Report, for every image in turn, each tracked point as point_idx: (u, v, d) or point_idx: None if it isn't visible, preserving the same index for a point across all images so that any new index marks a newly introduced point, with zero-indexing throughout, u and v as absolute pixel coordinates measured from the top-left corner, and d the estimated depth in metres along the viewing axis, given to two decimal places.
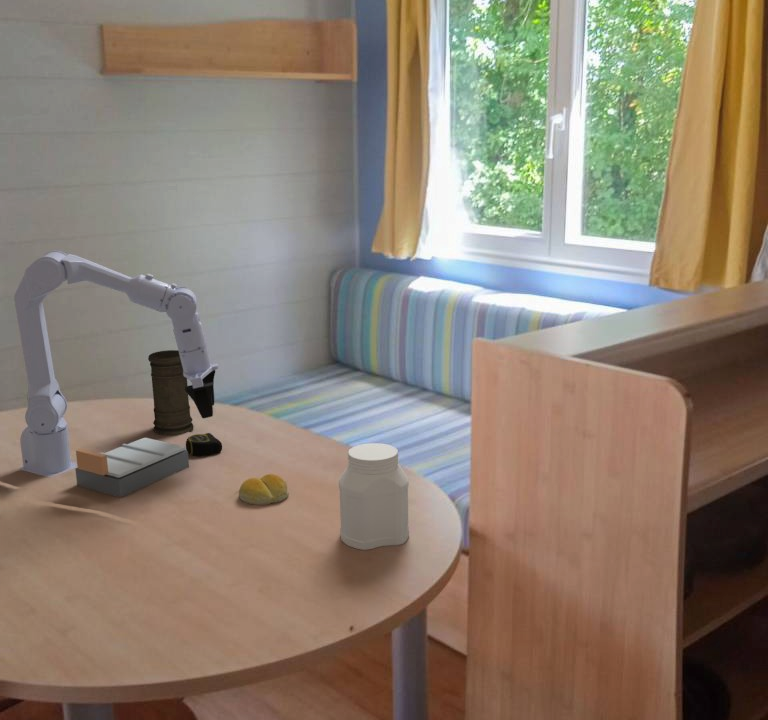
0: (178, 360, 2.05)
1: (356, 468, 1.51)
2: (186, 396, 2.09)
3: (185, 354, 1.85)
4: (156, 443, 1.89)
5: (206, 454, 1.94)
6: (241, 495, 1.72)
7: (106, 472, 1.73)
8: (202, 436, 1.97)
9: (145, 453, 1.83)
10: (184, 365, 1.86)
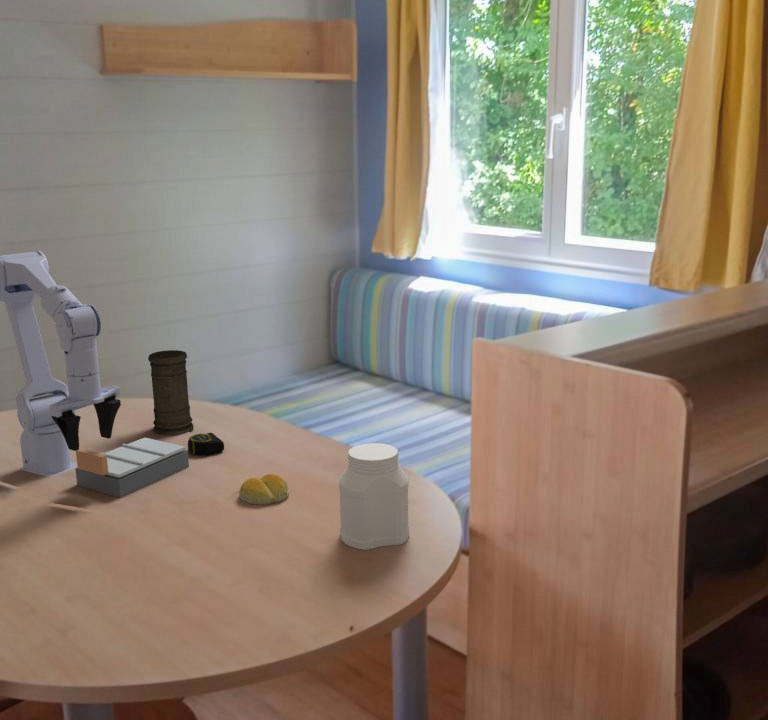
0: (178, 360, 2.05)
1: (356, 468, 1.51)
2: (186, 396, 2.09)
3: (67, 377, 1.69)
4: (156, 443, 1.89)
5: (208, 453, 1.94)
6: (241, 495, 1.72)
7: (106, 472, 1.73)
8: (204, 436, 1.98)
9: (145, 453, 1.83)
10: None
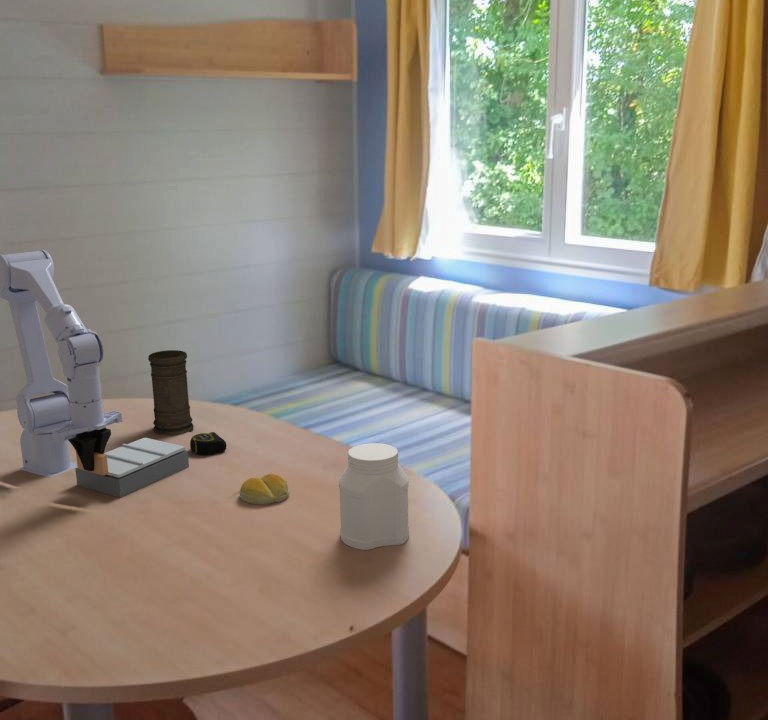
0: (178, 360, 2.05)
1: (356, 468, 1.51)
2: (186, 396, 2.09)
3: (69, 403, 1.70)
4: (156, 443, 1.89)
5: (210, 453, 1.95)
6: (242, 495, 1.72)
7: (106, 472, 1.73)
8: (206, 435, 1.98)
9: (145, 453, 1.83)
10: None
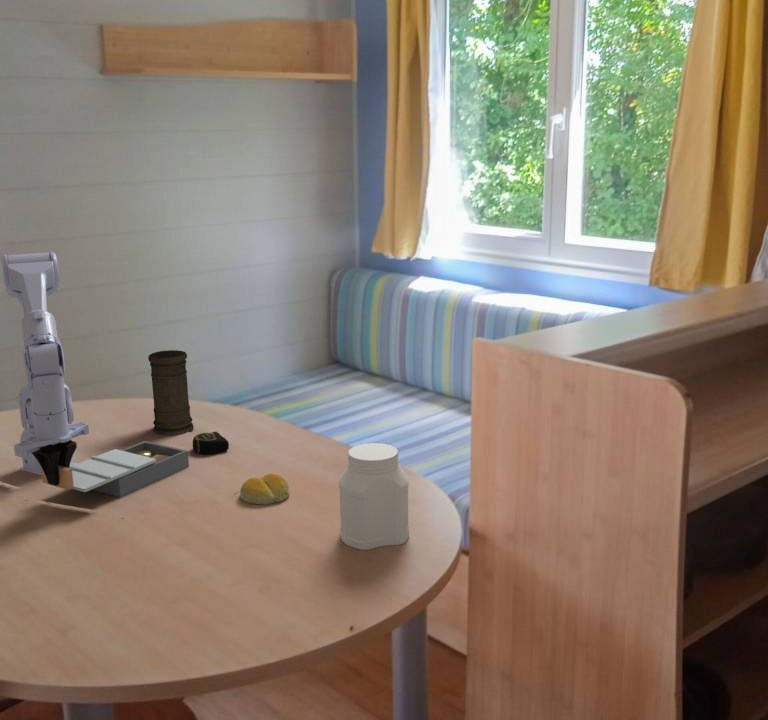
0: (178, 360, 2.05)
1: (356, 468, 1.51)
2: (186, 396, 2.09)
3: (32, 415, 1.64)
4: (126, 455, 1.83)
5: (213, 452, 1.95)
6: (242, 495, 1.72)
7: (71, 486, 1.67)
8: (208, 435, 1.98)
9: (114, 466, 1.77)
10: None
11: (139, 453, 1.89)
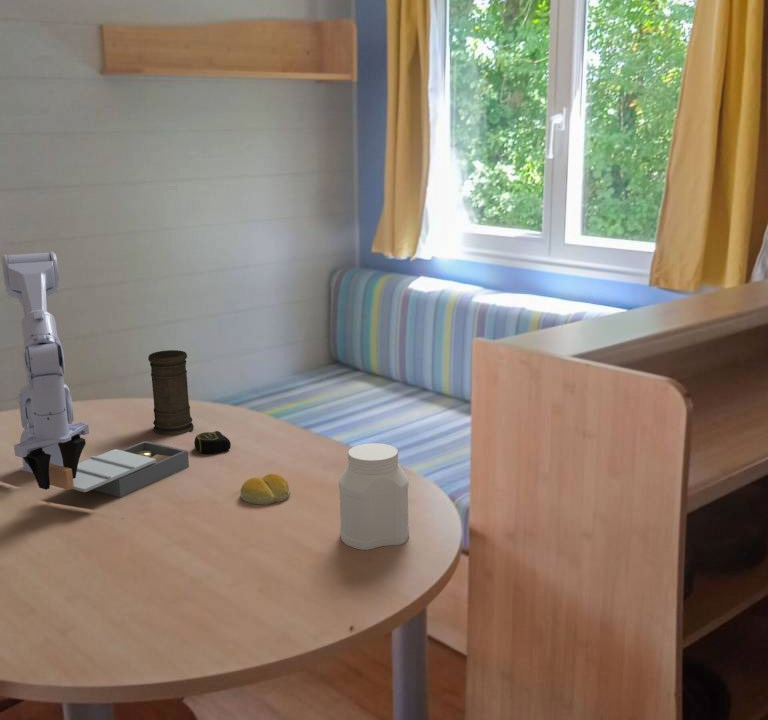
0: (178, 360, 2.05)
1: (356, 468, 1.51)
2: (186, 396, 2.09)
3: (32, 415, 1.64)
4: (126, 455, 1.83)
5: (215, 452, 1.95)
6: (243, 495, 1.72)
7: (71, 486, 1.67)
8: (210, 434, 1.98)
9: (114, 466, 1.77)
10: None
11: (139, 453, 1.89)
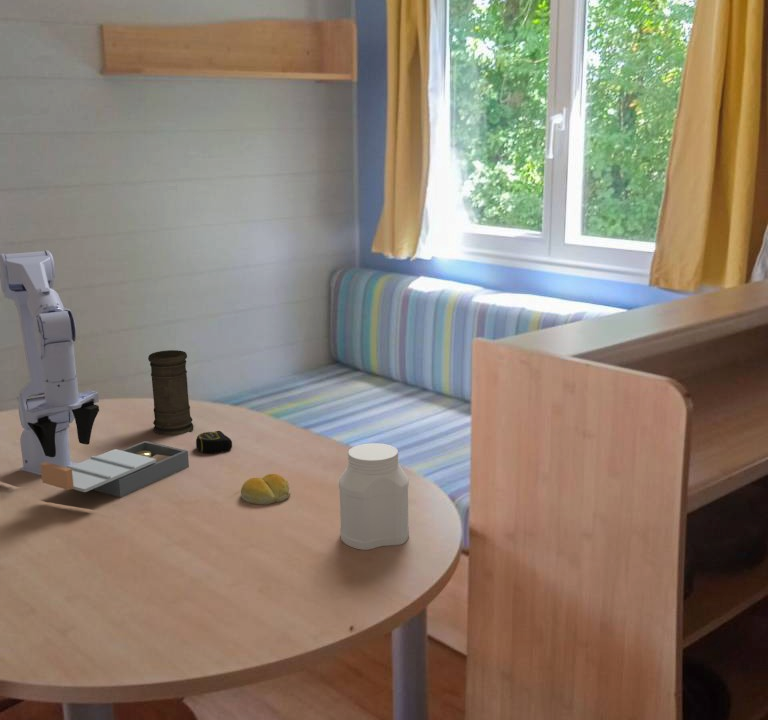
0: (178, 360, 2.05)
1: (356, 468, 1.51)
2: (186, 396, 2.09)
3: (43, 382, 1.66)
4: (126, 455, 1.83)
5: (216, 451, 1.95)
6: (243, 495, 1.72)
7: (71, 486, 1.67)
8: (212, 434, 1.99)
9: (114, 466, 1.77)
10: None
11: (139, 453, 1.89)
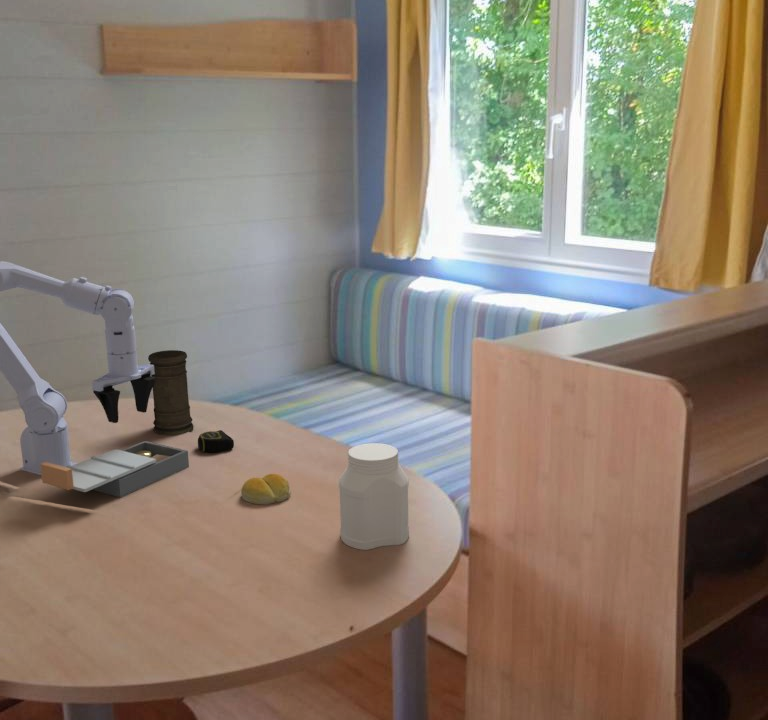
0: (178, 360, 2.05)
1: (356, 468, 1.51)
2: (186, 396, 2.09)
3: (107, 355, 1.84)
4: (126, 455, 1.83)
5: (218, 451, 1.96)
6: (243, 495, 1.72)
7: (71, 486, 1.67)
8: (213, 434, 1.99)
9: (114, 466, 1.77)
10: None
11: (139, 453, 1.89)
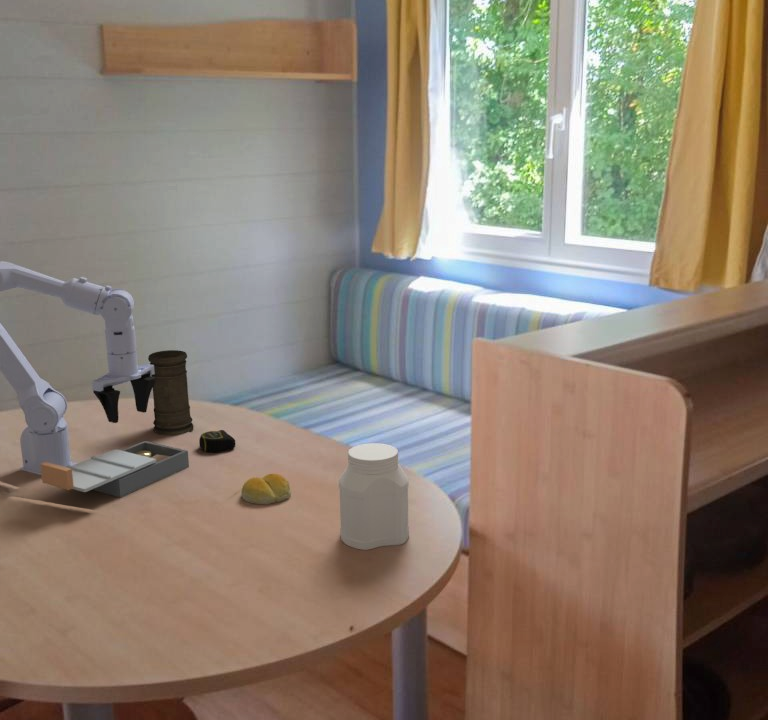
0: (178, 360, 2.05)
1: (356, 468, 1.51)
2: (186, 396, 2.09)
3: (107, 355, 1.84)
4: (126, 455, 1.83)
5: (219, 451, 1.96)
6: (244, 495, 1.72)
7: (71, 486, 1.67)
8: (215, 433, 1.99)
9: (114, 466, 1.77)
10: None
11: (139, 453, 1.89)
